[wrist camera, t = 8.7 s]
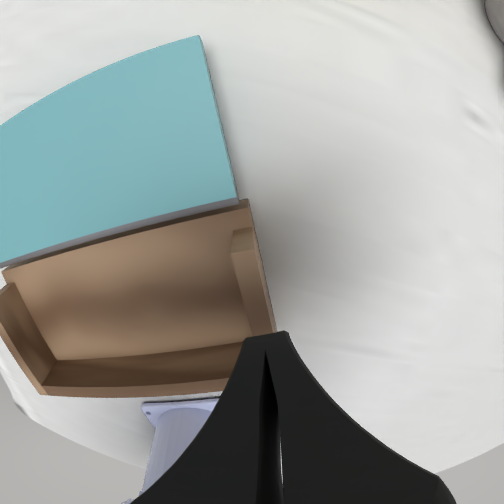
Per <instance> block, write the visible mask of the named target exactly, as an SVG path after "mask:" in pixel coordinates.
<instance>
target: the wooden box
mask: <svg viewBox="0 0 504 504" xmlns="http://www.w3.org/2000/svg"><path fill="white" fill-rule="evenodd" d="M2 274H3V276H4V279H5V281H6V283H7V285H5V286H4V287H3V288H2V289H1V290H0V336H1V338H2V339H3V341H4V343H5V344H6V346H7V348H8V349H9V351H10V352H11V354H12V355H13V357H14V359H15V360H16V362H17V363H18V365H19V366H20V368H21V369H22V370H23V372H24V373H25V375H26V376H27V378H28V379H29V380H30V382H31V383H32V385H33V386H34V387H35V389H36V390H37V391H38V393H39V394H40V395H51V396H67V397H95V398H127V397H156V396H173V395H186V394H197V393H207V392H216V391H223V390H224V388H225V386H226V384H227V382H228V380H229V378H230V375H231V373H232V371H233V369H234V366H235V364H236V361H237V358H238V356H239V353H240V350H241V347H242V343H243V341H244V340H245V338H248V337H253V336H259V335H264V334H270V333H275V332H277V330H276V325H275V320H274V316H273V311H272V306H271V302H270V297H269V292H268V288H267V283H266V279H265V274H264V269H263V265H262V260H261V256H260V251H259V247H258V242H257V237H256V233H255V228H254V224H253V219H252V215H251V210H250V206H249V201H248V199H244V200H239V204H238V205H233V206H229V207H224V208H219V209H215V210H211V211H206V212H202V213H198V214H193V215H189V216H185V217H181V218H176V219H172V220H168V221H164V222H160V223H156V224H152V225H148V226H144V227H140V228H136V229H133V230H129V231H125V232H121V233H117V234H114V235H110V236H106V237H103V238H99V239H95V240H92V241H88V242H85V243H81V244H78V245H74V246H71V247H67V248H64V249H61V250H57V251H54V252H51V253H47V254H44V255H41V256H37V257H34V258H31V259H28V260H25V261H22V262H18V263H15V264H12V265H10V266H8V267H7V268H6V269H4V270H3V271H2Z"/></svg>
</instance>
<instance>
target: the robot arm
mask: <svg viewBox="0 0 504 504" xmlns="http://www.w3.org/2000/svg"><path fill="white" fill-rule="evenodd" d="M141 410H142V411H143V413H144V414H145V416H146V417H147V418H148V420H149V421H150V422H151V424H152V425H153V427H154V428H155V429H156V430H155V434H154V438H153V443H152V447H151V452H150V456H149V461H148V465H147V470H146V475H145V480H144V484H143V489H142V491H140V493H139V497H137V498H136V499H135V500H133V499H128V500H127V501H125V502H123V503H121V504H456V501H455V499H454V497H453V496H452V494H451V492H450V491H449V489H448V488H447V486H446V485H445V484H444V482H443V481H442V480H441V479H440V477H439V476H437V475H435V474H433V473H431V472H429V471H427V470H425V469H423V468H421V467H420V466H418V465H416V464H414V463H413V462H411V461H409V460H407V459H406V458H404V457H403V456H401V455H399V454H398V453H396V452H395V451H393V450H392V449H390V448H389V447H387V446H386V445H385V444H383V443H382V442H381V441H379V440H378V439H377V438H375V437H374V436H373V435H371V434H370V433H369V432H367V431H366V430H365V429H364V428H362V427H361V426H360V425H359V424H358V423H357V422H356V421H354V420H353V419H352V418H351V417H350V416H349V415H348V414H347V413H346V412H345V411H344V410H343V409H342V408H341V407H340V406H339V405H338V404H337V403H336V402H335V401H334V400H333V399H332V398H331V397H330V396H329V395H328V393H327V392H326V391H325V390H324V389H323V388H322V386H321V385H320V384H319V383H318V381H317V380H316V379H315V378H314V376H313V375H312V374H311V372H310V371H309V369H308V368H307V367H306V365H305V364H304V362H303V361H302V359H301V358H300V356H299V354H298V353H297V351H296V349H295V347H294V345H293V343H292V341H291V339H290V336H289V333H288V332H286V331H280V332H275V333H270V334H264V335H259V336H253V337H248V338H245V340H244V341H243V343H242V347H241V350H240V353H239V356H238V358H237V361H236V364H235V366H234V369H233V371H232V373H231V375H230V378H229V380H228V382H227V384H226V386H225V388H224V390H223V392H222V394H221V396H220V398H216V399H207V400H196V401H183V402H167V403H144V404H142V405H141ZM280 439H281V454H280ZM281 455H282V475H283V484H282V476H281Z"/></svg>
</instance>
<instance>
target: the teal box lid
mask: <svg viewBox="0 0 504 504" xmlns="http://www.w3.org/2000/svg"><path fill="white" fill-rule="evenodd" d="M238 204H239V200H238V195H237V190H236V185H235V181H234V177H233V172H232V168H231V164H230V159H229V155H228V151H227V146H226V142H225V138H224V134H223V129H222V125H221V121H220V116H219V112H218V108H217V103H216V99H215V95H214V90H213V86H212V82H211V77H210V73H209V69H208V64H207V60H206V56H205V52H204V47H203V43H202V40H201V38H200V36H199V35H197V36H193V37H189V38H186V39H182V40H179V41H175V42H172V43H169V44H166V45H162V46H159V47H156V48H153V49H150V50H147V51H145V52H142V53H139V54H136V55H134V56H131V57H128V58H126V59H123V60H121V61H118V62H116V63H113V64H111V65H109V66H106V67H104V68H102V69H99V70H97V71H95V72H93V73H91V74H89V75H86V76H84V77H82V78H80V79H78V80H76V81H74V82H72V83H70V84H68V85H66V86H64V87H62V88H61V89H59V90H57V91H55V92H53V93H51V94H50V95H48V96H46V97H44V98H43V99H41V100H39V101H38V102H36V103H34V104H33V105H31V106H29V107H28V108H26V109H25V110H23V111H21V112H20V113H18V114H17V115H15V116H14V117H12V118H11V119H9V120H8V121H6V122H5V123H3V124H2V125H1V126H0V268H3V267H6V266H9V265H12V264H15V263H18V262H22V261H25V260H28V259H31V258H34V257H37V256H41V255H44V254H47V253H51V252H54V251H57V250H61V249H64V248H67V247H71V246H74V245H78V244H81V243H85V242H88V241H92V240H95V239H99V238H103V237H106V236H110V235H114V234H117V233H121V232H125V231H129V230H133V229H136V228H140V227H144V226H148V225H152V224H156V223H160V222H164V221H168V220H172V219H176V218H181V217H185V216H189V215H193V214H198V213H202V212H206V211H211V210H215V209H219V208H224V207H229V206H233V205H238Z"/></svg>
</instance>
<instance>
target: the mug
mask: <svg viewBox="0 0 504 504" xmlns="http://www.w3.org/2000/svg"><path fill="white" fill-rule="evenodd" d="M485 9H486V13H487V16H488V19H489V22H490V24H491V26H492V28H493V30H494V31H495V33H496V34H497V36H498V37H499V39H500V40H501V41H502V42H503V43H504V0H485Z"/></svg>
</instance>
